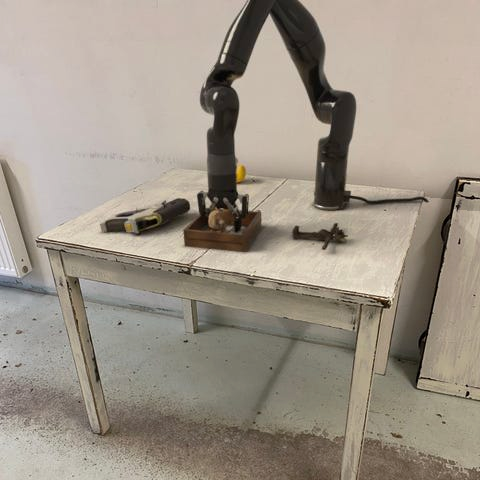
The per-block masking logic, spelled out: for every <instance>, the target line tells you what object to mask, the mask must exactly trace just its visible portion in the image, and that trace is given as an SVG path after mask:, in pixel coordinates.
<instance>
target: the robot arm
mask: <svg viewBox="0 0 480 480" xmlns="http://www.w3.org/2000/svg"><path fill="white" fill-rule="evenodd" d="M269 16H270V18H271V20H272V23H273V24H274V26H275V28H276V30H277V32H278V34H279V36H280V38H281V40H282V43H283V46H284V47H285V49H286V51H287V53H288V55H289V58H290V59H291V61H292V64H293V65H294V67H295V69H296V71H297V73H298V76H299V78H300V80H301V82H302V84H303V86H304V90H305V91H306V94H307V97H308V100H309V102H310V106H311V108H312V111H313V114H314V116H315V118H316V119H317V120H318V121H319V122H320V123H321V124H325V125H329V126H330V128H329V134H328V135H326V136H322V137H320V138H318V140H317V149H316V153H317V154H316V162H315V163H316V166H315V181H314V191H313V196H314V197H313V206H314V208H317V209H319V210H324V211H336V210H344V209H343V208H344V206H345V203H346V204H350V201H351V200H358V201H362V202H364V203H366V204H369V205H378V204H385V203H404V202H405V203H407V202H409V203H411V202H415V201H423V202H424V203H429V200H428V199H427V197H424V196H415V197H410V198H409V197H408V198H384V199H378V200H369V199H366V198H365V197H362V196H357V195H352V190H346V189H347V188H346V187H347V178H348V174H347V173H348V161H349V151H350V145H351V143H352V139H353V137H354V136H353V135H354V130H355V123H356V116H357V99H356V96H355V94H353V93H352V92H351V91H347V90H340V89H334V88H333V87H332V86H331V84H330V83H329V80H328V78H327V76H326V72H325V62H326V54H327V53H326V52H327V47H326V41H325V39H324V36H323V35H322V34H323V33H322V32H321V29H320V26H319V25H318V23H317V20H316V19H315V17H314V16H313V14H312V13H311V12H310V11H309V10H308V9H307V7H306V6H305V5H304V4H303V3H302V2H301V1H300V0H246V1H245V3H244V5H243V6H242V8H241V9H240V11H239V12H238V13H237V15H236V16H235V18H234V20H233V21H232V23H231V24H230V26H229V28H228V30H227V32H226V34H225V37H224V39H223V42H222V45H221V48H220V51H219V54H218V57H217V60H216V62H215V63H214V65H213V67H212V68H211V70H210V71H209V73H208V75H207V76H206V78H205V80H204V81H203V84H202V86H201V88H200V91H199V105H200V107H201V109H202V110H203V112H205V113H206V114H208V115H212V116H213V122H212V123H213V124H212V126H210V127H208V129H207V130H206V173H207V174H206V175H207V188H208V190H207V191H203V190H200V191H199V192H198V193H197V194H196V201H197V206H198V207H197V209H198V215H199V214H200V215H204V216H206V222H207V225H206V228H207V229H208V231H212V230H211V228H210V227H209V223H208V220H209V215H210V213H211V212H212V211H214V210H215V208H217V209H226V210H228V209H229V211H230V212H231V213H232V214H233V216H234V218H235V220H234V225H235V226H234V227H235V229H234V233H235V234H239V232H240V231H241V230H242V226H241V219H242V218H243V219H244V218H246V216H247V215H248V211H249V205H250V202H249V201H250V195H249V193H245V194H240V193H239V192H238V183H237V174H236V171H237V170H238V167H237V166H238V164H237V165H236V158H237V157H236V141H235V140H236V139H235V138H236V137H235V133H236V129H237V125H238V120H239V115H240V107H241V105H240V103H241V102H240V98H239V94H238V92H237V90H236V89H235V88H234V87H233V86H232V85H233V83H234V82H235V81H236V80H239V79H242V78H243V76H244V75H245V73H246V70H247V68H248V65H249V63H250V60H251V58H252V54H253V52H254V49H255V46H256V44H257V41H258V38H259V36H260V34H261V31H262V29H263V27H264V25H265V24H266V21H267V19H268V17H269ZM207 198H208V200H209V201H210V205H209V207H208V208H209V209H208V210H206V208H207V205H206V200H207ZM237 200H239V203H240V204H241V210H242V213H241V212H240V211H239V210H240V209H239V206H238V204H237Z"/></svg>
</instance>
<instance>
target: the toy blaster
mask: <svg viewBox="0 0 480 480" xmlns="http://www.w3.org/2000/svg"><path fill="white" fill-rule="evenodd" d="M190 210H191V204H190V201H189V200H187V199H186V198H181V197H177V198H175V199H172V200H170V201H167V199H164V200H161V201H158V202H155V203H152V204H149V205H144V206H139V207H136V208H135V210H130V211H123V212H120V213H117V214H114V215H112V216H109V217H108V218H106V219H104V220H102V221H101V222H100V223H99V227H100V229H101V233H104V232H105V233H106V232H109V231H110V232H113V231H122V230H123V231H124V230H125V231H126V232H127V233H134V234H139V233H140V232H141V231H144V230H148V229H152V228H156V227H157V226H161V225H162V226H163V225H165V224H166V223H167V222H169V221H171V220H174V219H176V218H179V217H180V216H182V215H184V214H187V213H188V212H190Z"/></svg>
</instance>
